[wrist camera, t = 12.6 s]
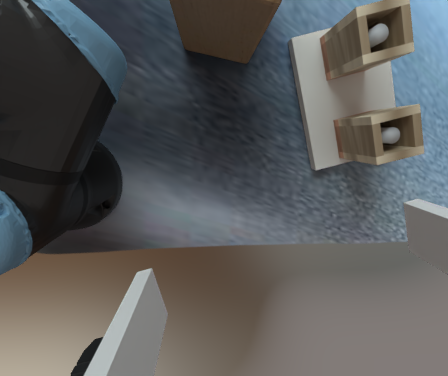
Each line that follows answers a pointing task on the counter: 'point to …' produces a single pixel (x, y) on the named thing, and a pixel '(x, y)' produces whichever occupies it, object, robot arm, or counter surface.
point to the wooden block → (223, 26)
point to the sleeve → (372, 139)
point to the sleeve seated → (367, 38)
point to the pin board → (337, 95)
